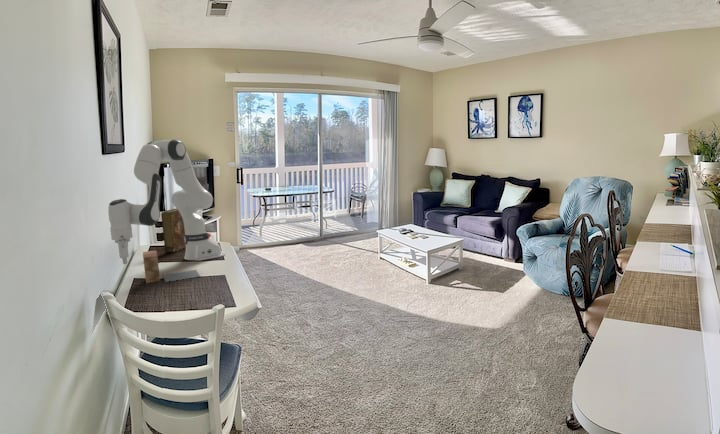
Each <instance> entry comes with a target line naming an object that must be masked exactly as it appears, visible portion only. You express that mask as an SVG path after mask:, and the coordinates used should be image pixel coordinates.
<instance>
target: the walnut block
mask: <svg viewBox="0 0 720 434" xmlns="http://www.w3.org/2000/svg"><path fill="white" fill-rule="evenodd" d="M158 257H159V256H158V252H157V250H150V251H149V250H147V251H142V258H143V268H144V277H145V282H146V284H151V283H155V282H156V281H157V282H161V278H160V277H161V276H160V270H159V269H160V267H159V259H158ZM150 282H151V283H150ZM157 282H156V283H157Z"/></svg>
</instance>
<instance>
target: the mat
mask: <svg viewBox="0 0 720 434" xmlns="http://www.w3.org/2000/svg"><path fill="white" fill-rule="evenodd" d="M162 277H163V281H164V283H169V281H171V282H176V280H178V281H182V279H184V280H191V279H198V278H200V277H201V275H200V273H199V272H198V270H197V269H191V270H185V271H179V272H171V273H163V274H162ZM190 278H191V279H190Z"/></svg>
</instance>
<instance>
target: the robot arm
mask: <svg viewBox="0 0 720 434" xmlns="http://www.w3.org/2000/svg"><path fill="white" fill-rule="evenodd" d="M161 162H163V163H164V162H168V163H169V166H170V170H171V173H172V176H173V179H174V181H175V184H176V185H178V186H179V187H180V188H181V190H177V191H174V192H173V194H172V196H171V203H172V205H173V207H175V209H178V211H179V212H180V214H181V216H182V219H183V222H184V229H185V234H184V240H185V244H186V248H185V250H184V251H185V252H184V260H186V261H198V262H199V261H205V260H210V259H216V258H217V259H218V258H222V257H225V256H226V252H225V251H223V250H222V248H221V246H220V244H219V243H218V242H217V241H215V240H213V239H212V238H211V237H212V234H211V233H208V232H206V226H205V225H206V223H205V218H203V216H201V215H200V214H199V212H198V211H199V210H201V211H202V210H206V209H209V208H211V207H212V205H213V202H214V197H213V195H212V194H211V192H209V191H208V190H207V189H205V187H203V186H202V184H201V183H200V182H199V179H197V176H196V172H195V170H194V168H193V164H192V161H191V159H190V155H189V154H188V152H187V148H186V146H185V144H184V143H183V142H182V141H181V140H178V139H162V140H161V139H160V140H156V141H155V140H154V141H153V140H152V141H150V142H148V143H146V144H144V145H143V146H142V147H141V149H140V151H139V153H138V155H137V158H136V161H135V163H134V168H133V174H134V176H135V178H136V179H137V180H138V181H140V182H141V183H143V184H146V185H147V188H148V192H147V200H146V202H145V203H144V204H134V203H130V202H129V201H127V199H123V198H120V199H115V200H114V199H113V200H112V201H111V202H109V204H108V210H107V211H108V220H109V223H110V228H109V229H110V231H109V232H110V237H111V238H110V239H111V240H112V241H114V243H115V244H117V245H118V253H119V258H120V259H121V260H122V264H123V265H128V258H129V242H131V239H132V238H133V237H134V236H133V227H132V225H135V226H136V225H137V226H140V225H142V226H149V227H152V226H155V224H157V222H159V220H160V216H161V211H160V210H161V209H160V206H161V198H162V197H161V196H162V185H163V184H162V177H161V176H160V174H159V173H160V168H161Z"/></svg>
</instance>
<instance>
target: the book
mask: <svg viewBox="0 0 720 434" xmlns="http://www.w3.org/2000/svg"><path fill="white" fill-rule="evenodd" d="M160 216H161V222H162V223H161V226H162V235H163V244H164V252H165V253H173V252H175V251H177V252H179V251H178V250H180V249H182V250H184V249H183V248H185V249H186V244H185V240H184V234H185V229H184V222H183V219H182V216H181V214H180V212H179V211H178V209H177V208H172V209H169V210H165V211H162V212H160ZM180 251H181V250H180ZM175 253H176V252H175Z"/></svg>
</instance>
